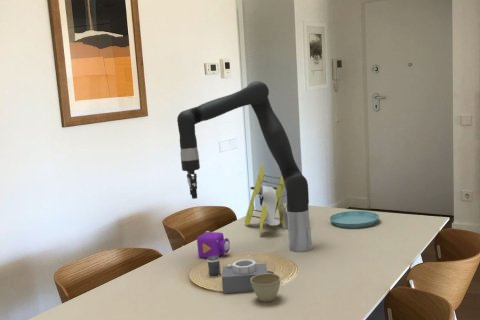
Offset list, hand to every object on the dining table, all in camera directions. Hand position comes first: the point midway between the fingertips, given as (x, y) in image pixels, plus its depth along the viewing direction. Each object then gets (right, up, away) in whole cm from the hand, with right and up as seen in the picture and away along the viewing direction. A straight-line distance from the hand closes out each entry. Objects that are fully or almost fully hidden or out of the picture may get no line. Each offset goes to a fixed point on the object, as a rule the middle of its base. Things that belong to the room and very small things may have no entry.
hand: (193, 196), depth 216 cm
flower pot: (+29, -31, -44) cm, 61 cm away
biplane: (+36, -20, +40) cm, 57 cm away
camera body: (+22, -30, -31) cm, 48 cm away
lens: (+10, -29, -17) cm, 35 cm away
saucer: (+77, -16, +41) cm, 88 cm away
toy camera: (+9, -26, +7) cm, 29 cm away
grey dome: (+30, -28, -21) cm, 46 cm away
